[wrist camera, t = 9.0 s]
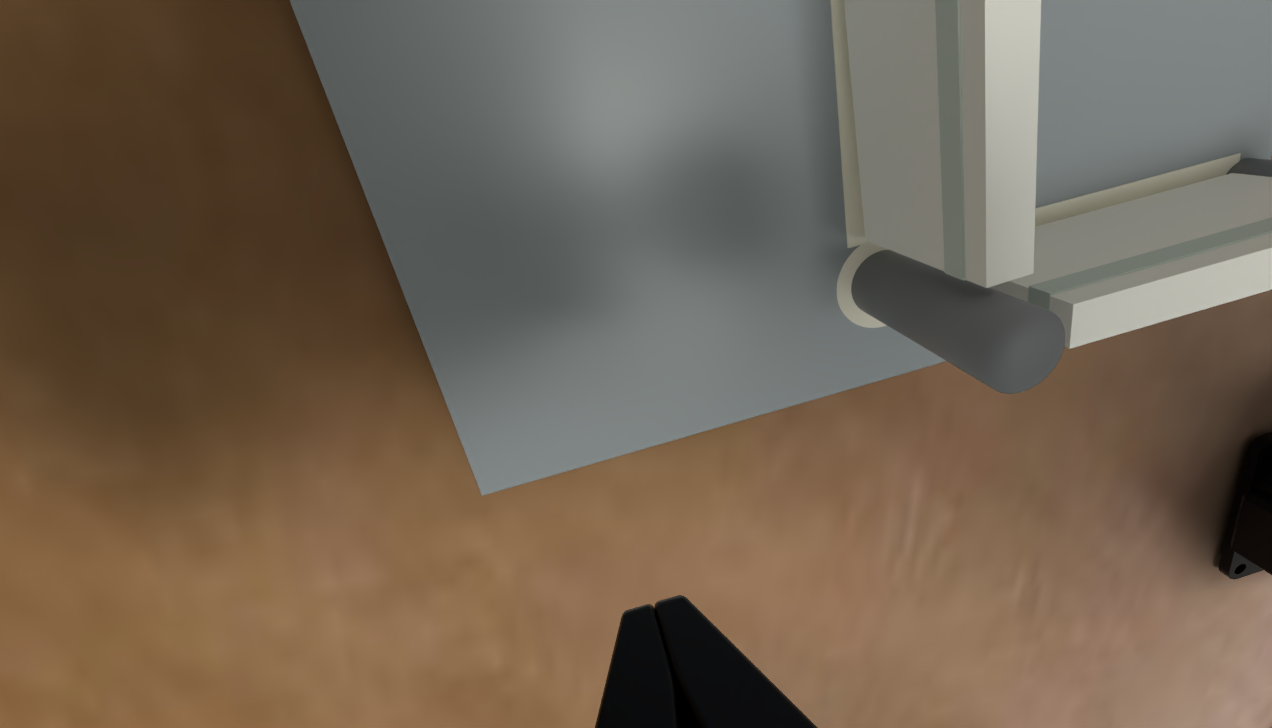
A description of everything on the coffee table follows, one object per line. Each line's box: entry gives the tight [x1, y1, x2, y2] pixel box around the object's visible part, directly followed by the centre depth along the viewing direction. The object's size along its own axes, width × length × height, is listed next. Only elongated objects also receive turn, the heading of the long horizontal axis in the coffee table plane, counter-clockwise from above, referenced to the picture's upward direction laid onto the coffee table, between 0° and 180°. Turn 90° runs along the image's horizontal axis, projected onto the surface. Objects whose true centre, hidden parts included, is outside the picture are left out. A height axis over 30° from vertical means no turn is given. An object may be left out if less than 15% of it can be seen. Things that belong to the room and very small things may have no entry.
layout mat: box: [290, 0, 1272, 496], centre depth 15 cm, size 24×16×1 cm, turn 102°
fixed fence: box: [851, 158, 1272, 394], centre depth 15 cm, size 13×2×6 cm, turn 102°
